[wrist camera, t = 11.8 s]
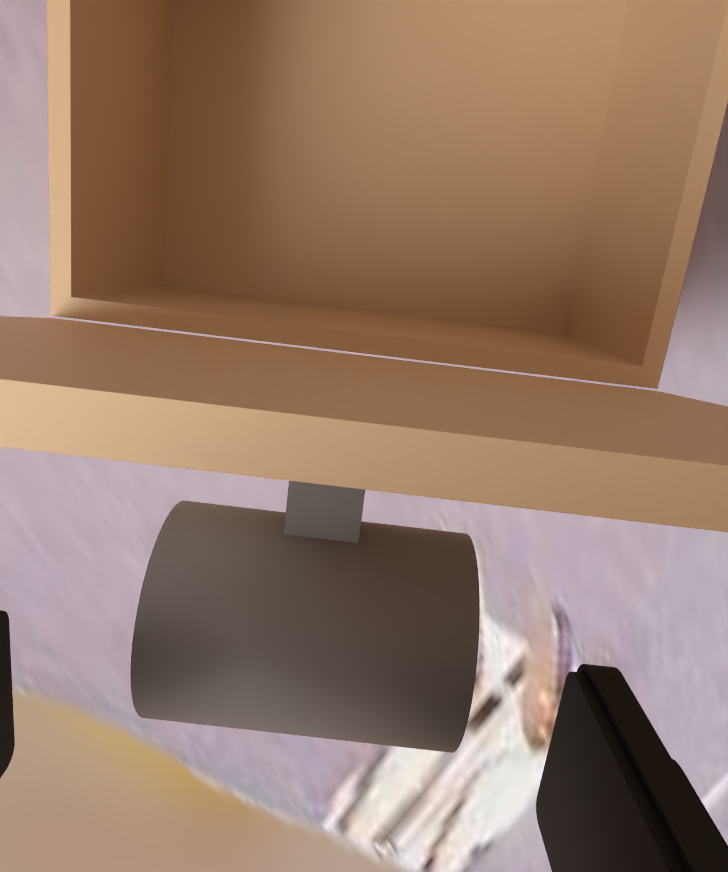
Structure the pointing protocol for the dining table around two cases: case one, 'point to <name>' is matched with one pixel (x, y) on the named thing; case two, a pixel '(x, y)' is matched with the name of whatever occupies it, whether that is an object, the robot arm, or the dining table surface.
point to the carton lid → (339, 510)
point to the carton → (387, 173)
